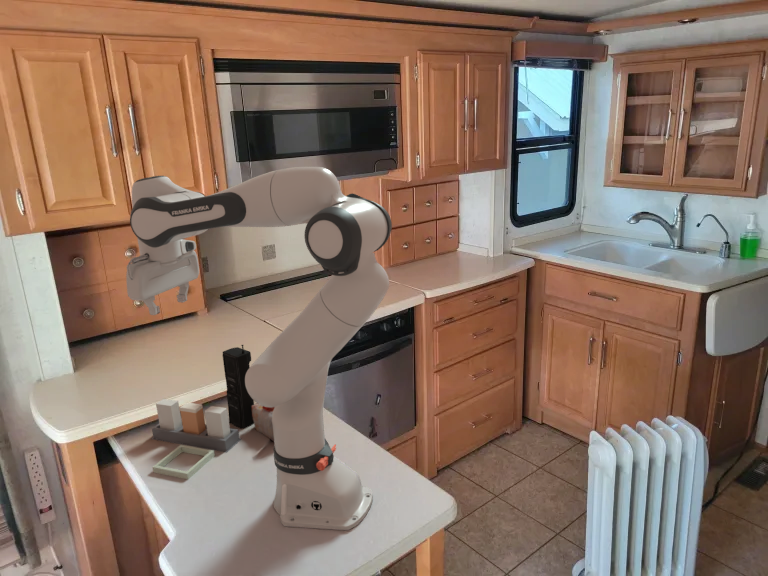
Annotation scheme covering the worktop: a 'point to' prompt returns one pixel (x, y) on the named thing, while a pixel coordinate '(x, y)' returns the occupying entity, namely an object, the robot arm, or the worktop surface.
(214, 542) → the worktop surface
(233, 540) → the worktop surface
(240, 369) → the portable radio
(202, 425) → the block
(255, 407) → the food item
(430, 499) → the worktop surface
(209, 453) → the tray
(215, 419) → the fuse block
